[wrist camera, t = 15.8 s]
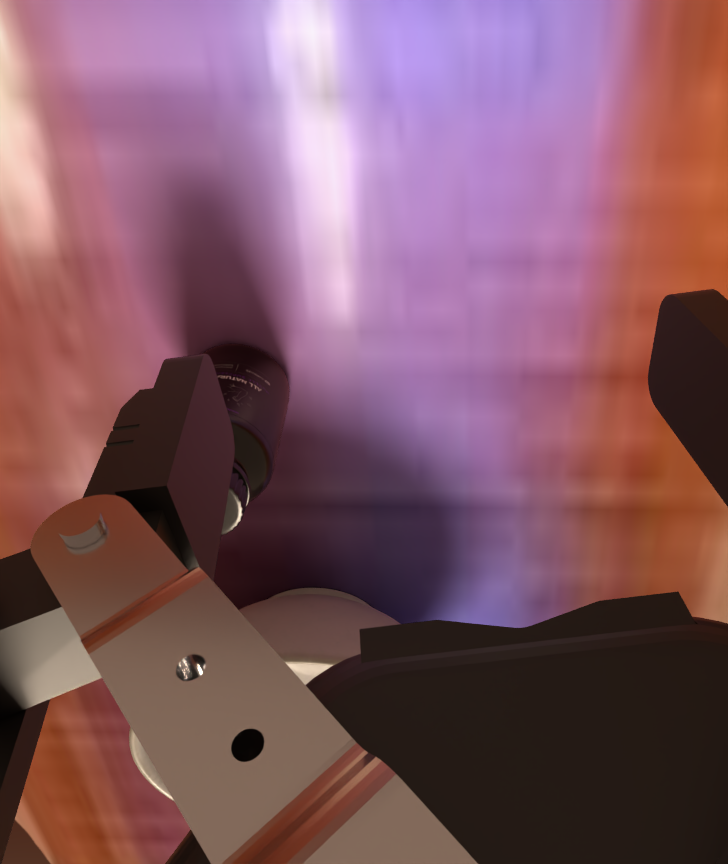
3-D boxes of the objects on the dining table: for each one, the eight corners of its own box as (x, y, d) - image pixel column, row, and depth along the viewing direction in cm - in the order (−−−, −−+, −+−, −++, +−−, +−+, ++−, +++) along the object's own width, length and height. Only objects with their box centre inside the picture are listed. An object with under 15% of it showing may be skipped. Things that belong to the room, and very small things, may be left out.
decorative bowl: (185, 703, 67) (153, 831, 58) (150, 517, 51) (97, 650, 42) (443, 716, 68) (454, 844, 58) (487, 535, 52) (513, 671, 42)
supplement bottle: (267, 327, 41) (233, 443, 31) (305, 411, 45) (285, 538, 35) (169, 354, 42) (108, 474, 33) (215, 434, 46) (172, 563, 37)
